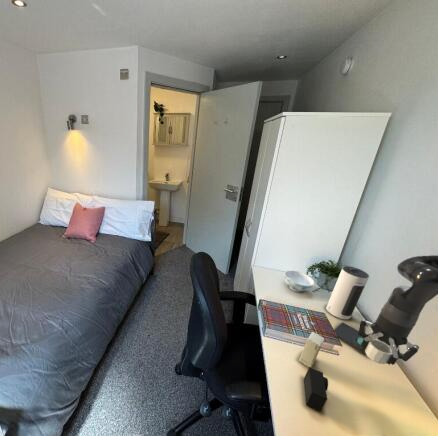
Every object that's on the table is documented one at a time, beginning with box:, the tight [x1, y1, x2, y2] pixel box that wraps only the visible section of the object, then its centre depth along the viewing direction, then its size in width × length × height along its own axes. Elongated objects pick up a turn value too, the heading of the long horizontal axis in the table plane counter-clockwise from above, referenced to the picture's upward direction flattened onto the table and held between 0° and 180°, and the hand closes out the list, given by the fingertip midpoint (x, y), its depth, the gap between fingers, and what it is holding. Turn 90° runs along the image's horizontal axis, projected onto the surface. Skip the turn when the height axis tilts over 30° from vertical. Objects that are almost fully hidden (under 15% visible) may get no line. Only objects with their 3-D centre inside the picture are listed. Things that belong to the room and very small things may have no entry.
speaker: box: [325, 265, 370, 321], centre depth 117 cm, size 11×10×26 cm
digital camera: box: [303, 367, 329, 413], centre depth 80 cm, size 10×5×7 cm, turn 151°
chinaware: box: [284, 270, 315, 293], centre depth 138 cm, size 15×15×8 cm
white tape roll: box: [365, 338, 393, 365], centre depth 78 cm, size 6×6×5 cm
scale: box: [333, 321, 368, 357], centre depth 105 cm, size 13×13×3 cm
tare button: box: [357, 338, 364, 345], centre depth 100 cm, size 4×4×2 cm
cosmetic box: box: [298, 331, 325, 368], centre depth 92 cm, size 6×4×12 cm
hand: (376, 355), depth 79 cm, fingers closed on white tape roll, 6 cm apart
